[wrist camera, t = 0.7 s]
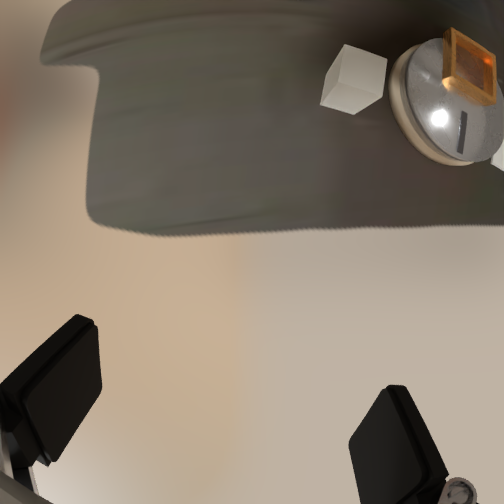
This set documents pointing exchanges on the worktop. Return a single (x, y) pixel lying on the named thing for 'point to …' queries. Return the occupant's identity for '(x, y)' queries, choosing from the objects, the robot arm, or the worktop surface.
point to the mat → (499, 158)
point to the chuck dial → (454, 97)
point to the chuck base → (403, 119)
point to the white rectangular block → (354, 80)
